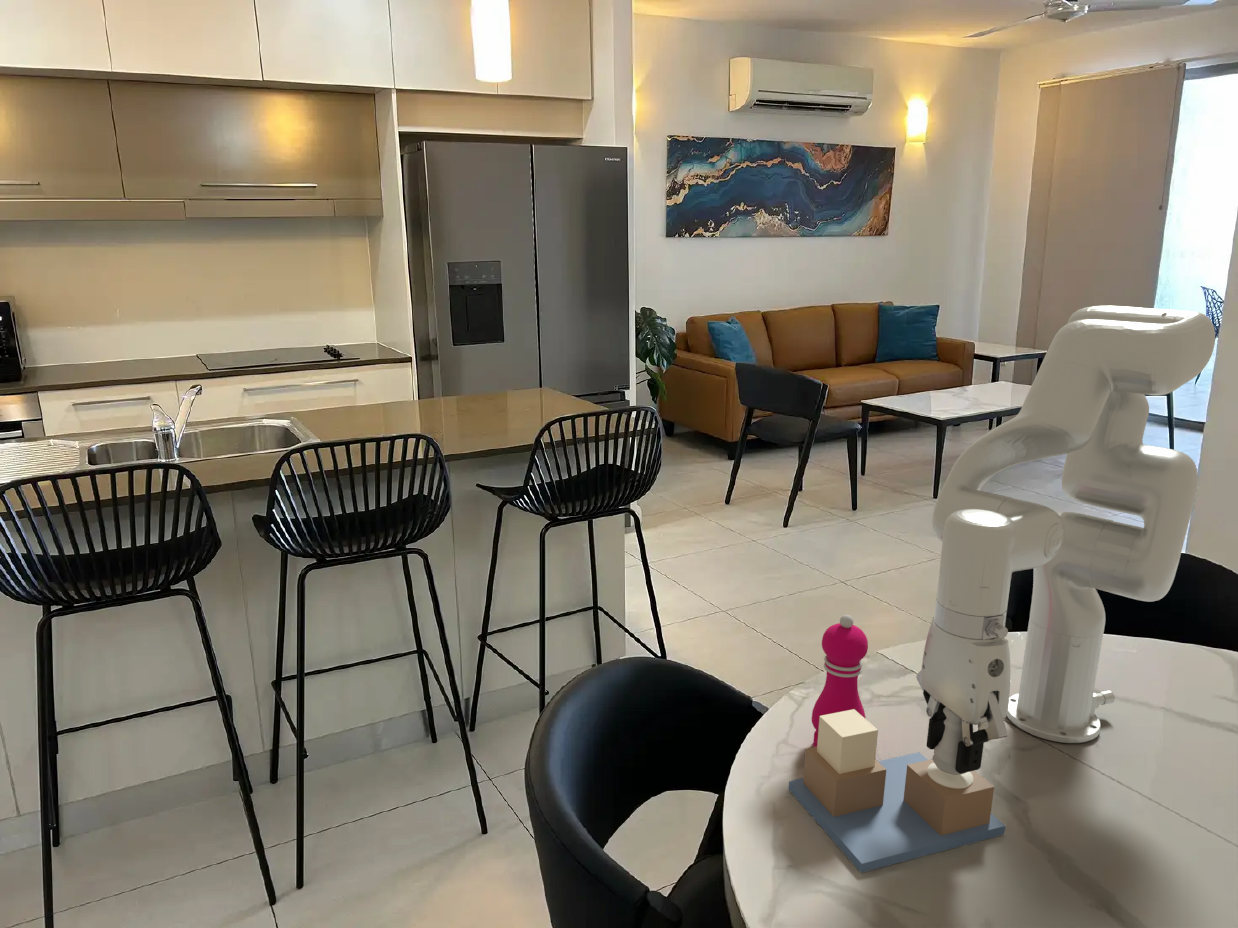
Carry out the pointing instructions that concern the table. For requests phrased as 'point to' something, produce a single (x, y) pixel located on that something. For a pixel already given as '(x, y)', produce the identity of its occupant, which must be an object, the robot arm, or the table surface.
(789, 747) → the table surface
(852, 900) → the table surface
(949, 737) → the rook chess piece
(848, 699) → the pepper mill
